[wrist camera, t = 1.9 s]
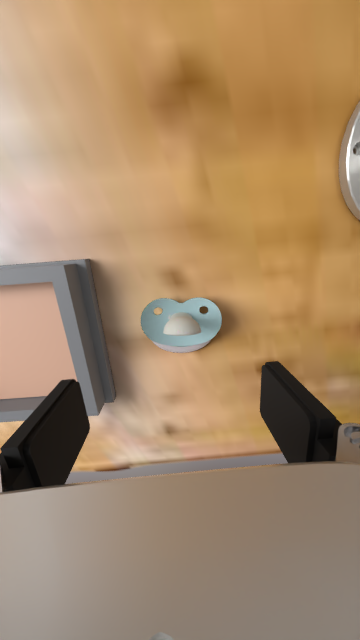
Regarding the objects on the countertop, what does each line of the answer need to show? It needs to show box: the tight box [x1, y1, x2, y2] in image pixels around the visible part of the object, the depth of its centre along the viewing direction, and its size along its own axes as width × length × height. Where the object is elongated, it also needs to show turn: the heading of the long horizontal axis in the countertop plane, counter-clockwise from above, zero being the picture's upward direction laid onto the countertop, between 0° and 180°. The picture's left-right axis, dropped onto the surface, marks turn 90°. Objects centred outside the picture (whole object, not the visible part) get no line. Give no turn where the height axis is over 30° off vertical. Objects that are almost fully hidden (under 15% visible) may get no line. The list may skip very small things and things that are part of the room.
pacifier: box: [141, 298, 222, 353], centre depth 19 cm, size 7×6×6 cm
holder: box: [0, 259, 116, 422], centre depth 20 cm, size 16×15×3 cm
